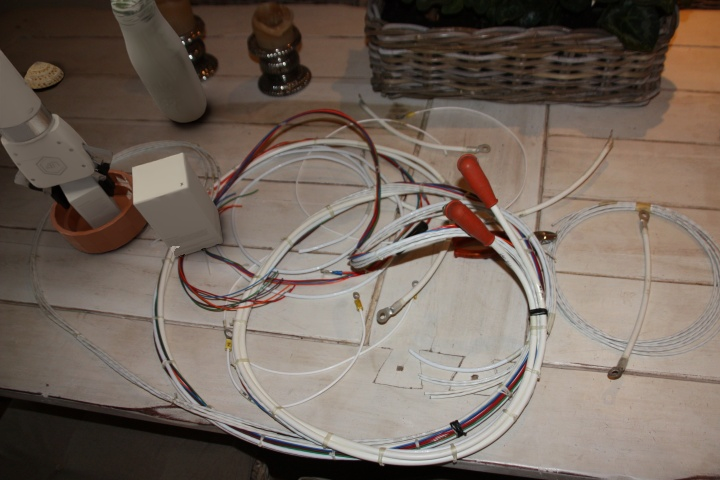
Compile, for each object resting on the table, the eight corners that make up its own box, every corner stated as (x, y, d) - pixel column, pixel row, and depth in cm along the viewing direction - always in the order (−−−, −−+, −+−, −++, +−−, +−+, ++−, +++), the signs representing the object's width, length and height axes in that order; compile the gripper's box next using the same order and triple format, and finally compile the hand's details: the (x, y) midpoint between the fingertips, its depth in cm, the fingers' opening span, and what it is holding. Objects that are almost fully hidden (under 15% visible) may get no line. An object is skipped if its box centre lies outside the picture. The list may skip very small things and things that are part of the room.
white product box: (218, 208, 102) (184, 150, 90) (224, 243, 97) (189, 187, 85) (171, 222, 101) (130, 165, 89) (174, 259, 96) (131, 204, 84)
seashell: (14, 76, 130) (35, 50, 130) (37, 89, 135) (57, 64, 135) (26, 90, 126) (47, 63, 126) (49, 103, 131) (69, 78, 131)
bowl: (67, 265, 98) (46, 245, 93) (72, 203, 107) (53, 182, 102) (152, 240, 99) (136, 220, 94) (151, 181, 108) (135, 160, 103)
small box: (88, 215, 104) (54, 177, 95) (115, 200, 105) (84, 161, 97) (102, 240, 100) (67, 202, 91) (130, 224, 101) (99, 185, 93)
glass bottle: (162, 132, 116) (87, 8, 93) (177, 101, 122) (109, -24, 99) (205, 131, 115) (140, 5, 92) (218, 99, 121) (160, -27, 98)
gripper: (-38, 152, 80) (39, 226, 95) (80, 121, 81) (138, 199, 96) (-30, 120, 84) (43, 196, 99) (82, 91, 86) (138, 170, 100)
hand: (90, 197), depth 97 cm, fingers closed on small box, 7 cm apart
